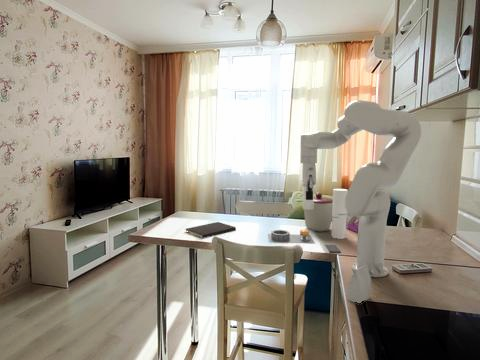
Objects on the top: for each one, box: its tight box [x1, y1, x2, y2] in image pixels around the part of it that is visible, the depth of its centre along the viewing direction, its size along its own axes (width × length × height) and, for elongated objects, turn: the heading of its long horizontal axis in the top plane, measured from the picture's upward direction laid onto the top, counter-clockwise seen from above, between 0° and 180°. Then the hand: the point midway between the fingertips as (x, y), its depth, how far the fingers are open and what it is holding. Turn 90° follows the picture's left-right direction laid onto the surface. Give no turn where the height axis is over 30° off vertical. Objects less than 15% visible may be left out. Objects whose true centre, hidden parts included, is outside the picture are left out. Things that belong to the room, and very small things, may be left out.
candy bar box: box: [346, 212, 361, 234], centre depth 171 cm, size 11×5×16 cm, turn 22°
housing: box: [267, 229, 316, 244], centre depth 152 cm, size 14×22×4 cm, turn 87°
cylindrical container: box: [330, 188, 349, 240], centre depth 158 cm, size 7×7×25 cm
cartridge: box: [302, 182, 315, 210], centre depth 143 cm, size 5×5×12 cm
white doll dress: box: [347, 265, 372, 304], centre depth 94 cm, size 4×7×10 cm, turn 130°
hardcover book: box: [185, 221, 237, 239], centre depth 169 cm, size 16×23×2 cm
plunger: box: [299, 229, 310, 240], centre depth 152 cm, size 4×4×4 cm
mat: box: [324, 244, 342, 254], centre depth 140 cm, size 9×9×1 cm
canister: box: [302, 192, 333, 232], centre depth 172 cm, size 18×18×21 cm
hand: (308, 198), depth 143 cm, fingers closed on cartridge, 5 cm apart
